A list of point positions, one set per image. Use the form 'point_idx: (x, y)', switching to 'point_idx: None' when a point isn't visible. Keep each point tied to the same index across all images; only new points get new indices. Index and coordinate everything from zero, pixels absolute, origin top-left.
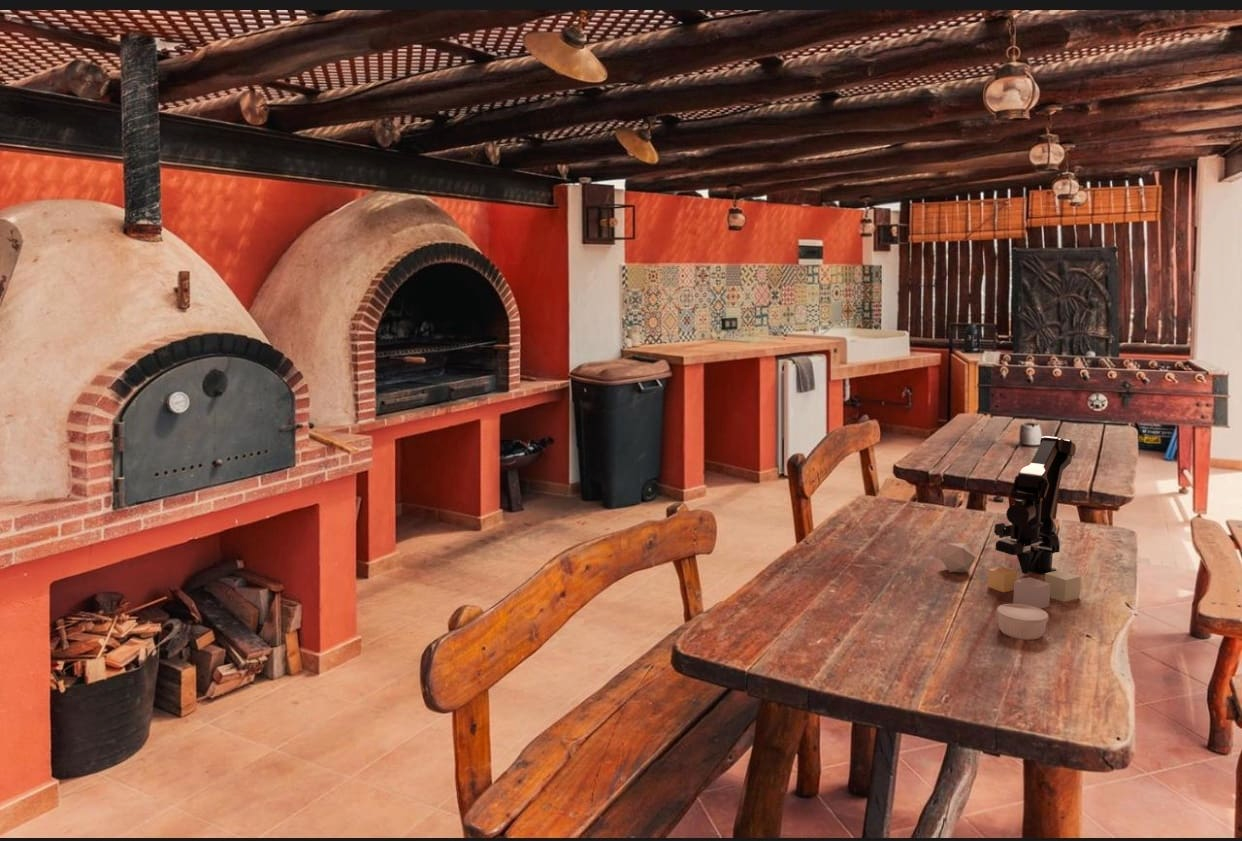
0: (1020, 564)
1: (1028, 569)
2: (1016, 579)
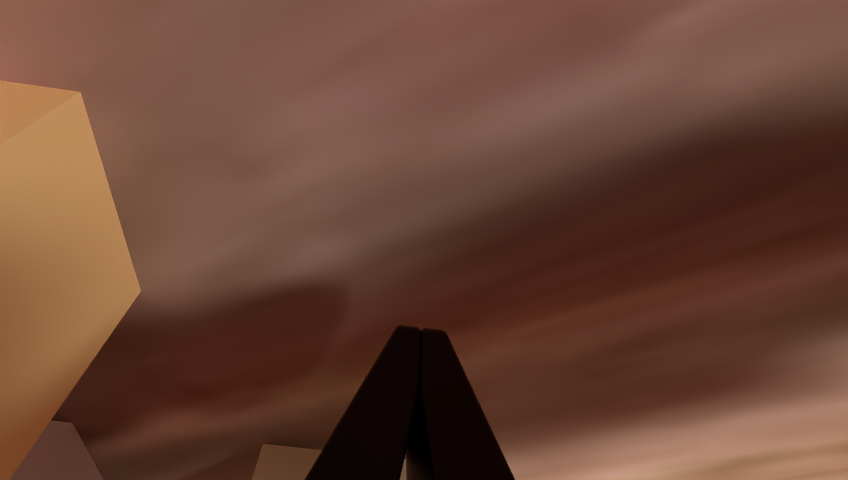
0: (329, 446)
1: (407, 445)
2: (64, 388)
